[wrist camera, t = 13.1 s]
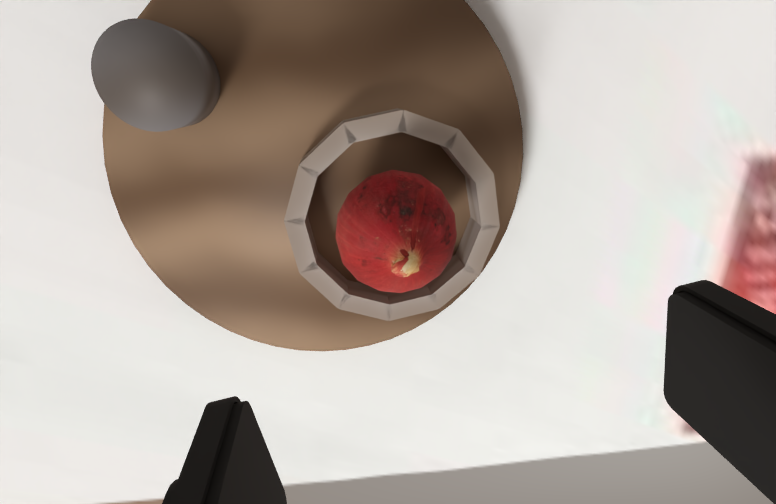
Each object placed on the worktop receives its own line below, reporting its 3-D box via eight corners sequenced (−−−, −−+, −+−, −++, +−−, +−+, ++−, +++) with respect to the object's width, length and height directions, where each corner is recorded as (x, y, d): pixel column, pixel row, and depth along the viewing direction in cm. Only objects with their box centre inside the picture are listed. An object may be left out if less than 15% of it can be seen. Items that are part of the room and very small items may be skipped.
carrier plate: (38, -10, 21) (-38, -36, 16) (490, -100, 21) (528, -147, 17) (201, 372, 28) (178, 421, 24) (527, 294, 29) (560, 328, 25)
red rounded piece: (342, 152, 23) (347, 181, 16) (446, 168, 24) (497, 201, 17) (329, 254, 25) (328, 323, 18) (426, 265, 26) (464, 334, 19)
